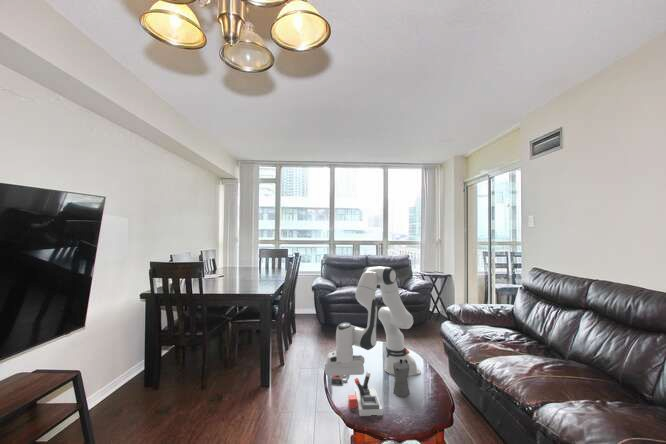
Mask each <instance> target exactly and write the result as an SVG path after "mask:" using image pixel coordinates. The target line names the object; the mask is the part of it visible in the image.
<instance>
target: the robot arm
mask: <svg viewBox="0 0 666 444" xmlns="http://www.w3.org/2000/svg"><path fill="white" fill-rule="evenodd" d="M378 285H379V288H380V294H381V297H382V302H383V304H384V305H385V306H381V307H380V308H379V303H378V301H377V300H376V292H377V287H378ZM400 296H401V295H400V291H399V287H398V282H397V272H396V270H395V269H394V268H392V267H390V266H366V267H365V268H364V269H363V270H362V273H361V276H360V279H359V281H358V284H357V287H356V289H355V295H354V297H355V299H356V301H357V303H359V304H360V305H361V306H362V307H364V308H365V309H366V310H367V313H368V314H367V323H366V324H367V325H366V328H364V327H360V326H356V325H352V324H351V323H350V322H341V323H339V324H338V325H337V326H336V332H335V344H336V348H335V350H334V351H332V352H331V351H330V352H328V353H327V359H326V361H325V365H324V366H325V367H324V368H325V369H324V374H325V375H326V376H332V375H340V378H341V380H342V383H343V384H348V380H349V379H350V377H351V376H358V375H364V374H365V366H364V364H365V357H364V356H363V355H360V354H359V355H357V354H356V355H354V348H353V346H355V347H359V348H362V349H364V350H366V351H370V350H371V349H373V348H375V346H376V345H377V341H378V340H377V339H378V338H377V336H378V335H377V327H378V320H380V322H381V324H382V326H383V328H384V332H385V338H386V347H385V356H386V358H385V363H384V368H383V370H384V371H385V372H387V373H388V374H390V375H394V368H393V363H395V362H400V359H402V360H405V359H406V360H407V362H408V364H409V375H408V377H409V376H415V375H420V374H421V369H420V367H419V366H418V364H417V362H416V360H415V359H414V358H413V357H412V356H411V355H410V351H409V349H408V348H406V347H405V337H404V333H403V332H402V331H401V330H400V329H403V330H404V329H405V330H408V329H410V328H412V326H413V324H414V316H413V315H412V314H411V313H410V312H409V310H408V309H406V307H405V305H404V303H403V301H402V298H401V297H400ZM402 362H403V361H402ZM343 375H347V377H346V379H343V378H342V377H343ZM394 376H395V375H394Z"/></svg>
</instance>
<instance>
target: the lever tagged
mask: <svg viewBox="0 0 666 444" xmlns="http://www.w3.org/2000/svg"><path fill="white" fill-rule="evenodd" d="M354 383H355V384H356V386H357V389H359V390H360V392H361V394H362V395H366V393H365V391H364V389H363V388H362V386H361V385H362V384H361V382H360V380H359V378H358V377H356V378H355V379H354Z"/></svg>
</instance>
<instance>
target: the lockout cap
mask: <svg viewBox="0 0 666 444" xmlns="http://www.w3.org/2000/svg"><path fill="white" fill-rule="evenodd" d="M347 404H348V409H358V406H357V397H356V395H355V394H348V402H347Z"/></svg>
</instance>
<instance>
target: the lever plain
mask: <svg viewBox="0 0 666 444" xmlns="http://www.w3.org/2000/svg"><path fill="white" fill-rule="evenodd" d="M370 377H371V371H369V370H366V371H365V377H364V381H363V384H362V385H363V389H367V385H368V384H369V380H370ZM368 386H369V385H368Z"/></svg>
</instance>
